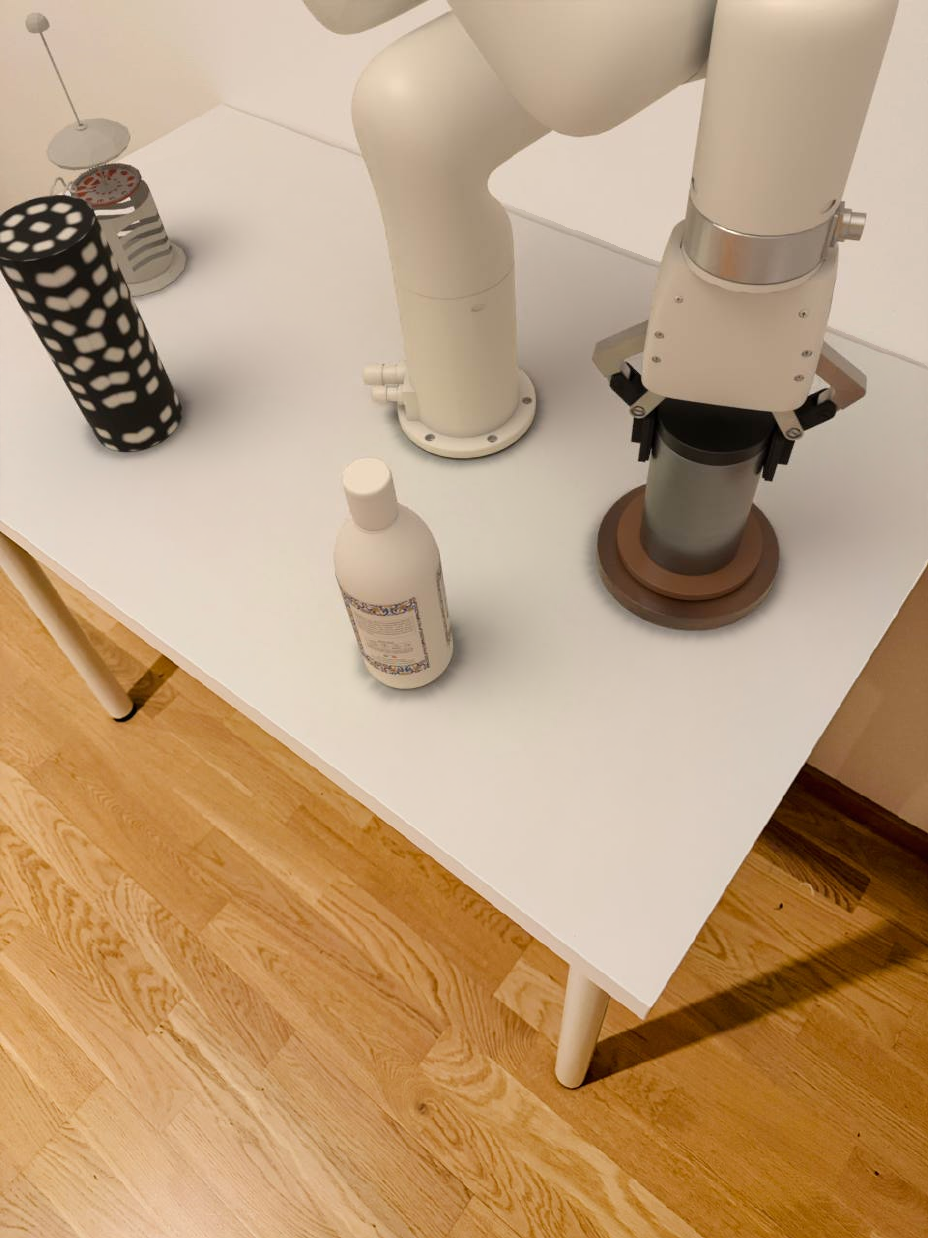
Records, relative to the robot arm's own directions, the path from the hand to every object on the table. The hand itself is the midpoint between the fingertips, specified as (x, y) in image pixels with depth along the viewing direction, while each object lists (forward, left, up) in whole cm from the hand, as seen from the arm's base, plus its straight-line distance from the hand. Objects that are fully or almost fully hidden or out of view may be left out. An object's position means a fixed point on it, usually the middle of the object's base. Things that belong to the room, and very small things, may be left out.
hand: (706, 455), depth 62 cm
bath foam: (-21, -10, -12) cm, 26 cm away
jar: (0, 0, -10) cm, 10 cm away
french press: (-57, +36, -12) cm, 68 cm away
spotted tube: (-50, +14, -12) cm, 53 cm away
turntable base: (0, 0, -12) cm, 12 cm away
